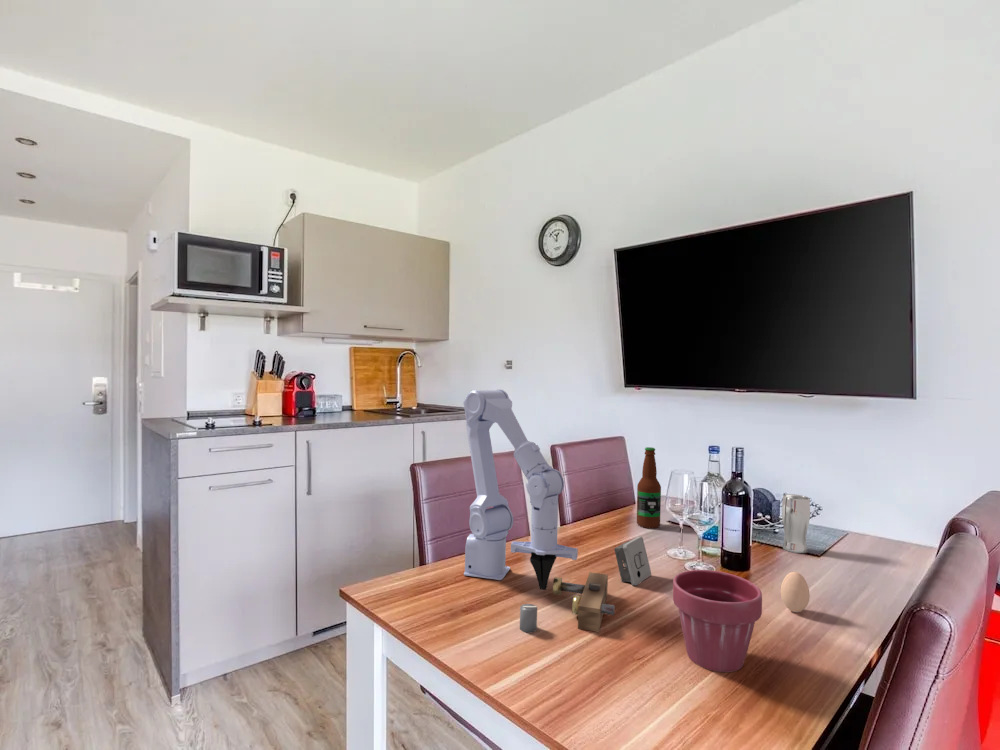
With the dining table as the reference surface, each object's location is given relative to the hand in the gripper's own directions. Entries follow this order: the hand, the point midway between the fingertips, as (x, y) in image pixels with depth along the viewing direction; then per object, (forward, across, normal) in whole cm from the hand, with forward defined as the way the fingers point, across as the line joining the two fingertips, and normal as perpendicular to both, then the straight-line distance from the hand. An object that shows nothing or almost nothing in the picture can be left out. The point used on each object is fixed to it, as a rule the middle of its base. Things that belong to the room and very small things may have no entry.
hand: (543, 588), depth 117 cm
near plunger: (+1, +12, -8) cm, 14 cm away
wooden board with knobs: (+2, +11, -4) cm, 12 cm away
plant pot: (+2, +34, -16) cm, 37 cm away
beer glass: (+2, +61, +53) cm, 81 cm away
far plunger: (+1, +6, 0) cm, 6 cm away
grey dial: (+2, 0, -16) cm, 16 cm away
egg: (+2, +51, +9) cm, 52 cm away
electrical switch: (+2, +18, +16) cm, 25 cm away
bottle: (+2, +21, +63) cm, 67 cm away
